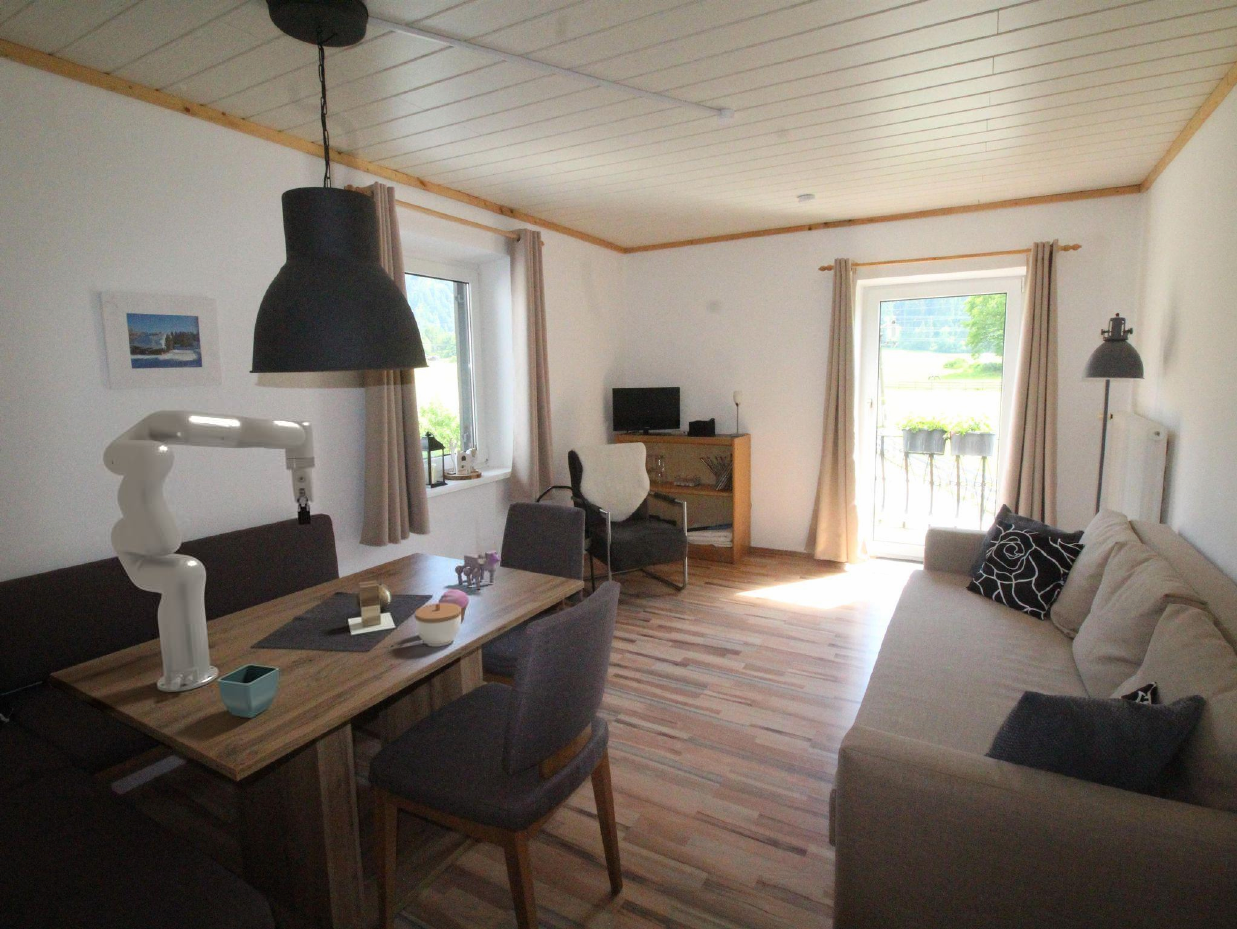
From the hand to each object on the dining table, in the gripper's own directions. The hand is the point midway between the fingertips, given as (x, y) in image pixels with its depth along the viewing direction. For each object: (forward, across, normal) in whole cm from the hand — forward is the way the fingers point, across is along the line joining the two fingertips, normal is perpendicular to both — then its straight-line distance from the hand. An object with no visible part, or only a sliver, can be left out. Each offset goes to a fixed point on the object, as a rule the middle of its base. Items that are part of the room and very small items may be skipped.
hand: (304, 521), depth 192 cm
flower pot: (+33, -51, +13) cm, 62 cm away
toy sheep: (+32, +15, -55) cm, 66 cm away
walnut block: (+25, -9, -16) cm, 31 cm away
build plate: (+32, -9, -16) cm, 37 cm away
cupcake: (+32, -16, -39) cm, 53 cm away
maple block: (+31, -9, -16) cm, 36 cm away
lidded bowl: (+32, -30, -32) cm, 54 cm away
